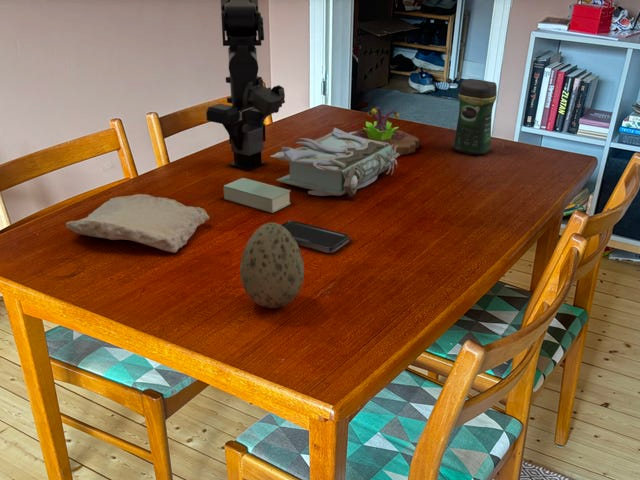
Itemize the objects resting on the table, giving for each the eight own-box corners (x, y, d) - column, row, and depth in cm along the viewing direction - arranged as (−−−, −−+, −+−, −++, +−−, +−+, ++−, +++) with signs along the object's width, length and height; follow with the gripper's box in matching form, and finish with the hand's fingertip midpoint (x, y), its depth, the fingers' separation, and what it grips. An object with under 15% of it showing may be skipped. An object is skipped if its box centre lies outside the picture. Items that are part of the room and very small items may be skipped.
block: (231, 151, 162) (229, 128, 159) (246, 146, 165) (244, 123, 162) (249, 156, 159) (248, 132, 157) (263, 150, 163) (262, 127, 160)
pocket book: (224, 199, 170) (223, 185, 168) (243, 190, 175) (242, 177, 173) (272, 213, 164) (271, 199, 162) (290, 203, 168) (290, 190, 167)
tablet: (166, 266, 142) (213, 219, 157) (159, 231, 138) (208, 186, 152) (60, 251, 149) (115, 207, 164) (50, 217, 145) (107, 175, 159)
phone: (290, 219, 157) (351, 235, 151) (290, 224, 158) (351, 240, 152) (268, 232, 152) (331, 249, 145) (268, 237, 152) (331, 254, 146)
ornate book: (345, 209, 168) (407, 169, 189) (346, 168, 163) (409, 131, 183) (265, 189, 178) (332, 153, 199) (263, 150, 173) (332, 117, 193)
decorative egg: (316, 308, 128) (316, 227, 120) (262, 326, 122) (258, 242, 114) (283, 284, 135) (281, 206, 127) (231, 300, 130) (225, 220, 122)
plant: (327, 145, 205) (327, 104, 199) (377, 132, 216) (378, 92, 210) (379, 164, 193) (381, 120, 186) (428, 149, 204) (432, 107, 198)
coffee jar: (493, 150, 203) (503, 80, 193) (480, 157, 198) (489, 85, 188) (462, 144, 208) (470, 74, 198) (448, 150, 203) (455, 79, 193)
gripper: (244, 86, 143) (248, 165, 152) (301, 69, 156) (302, 143, 165) (201, 78, 148) (207, 155, 157) (260, 62, 161) (262, 134, 170)
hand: (247, 147), depth 162 cm, fingers closed on block, 5 cm apart
